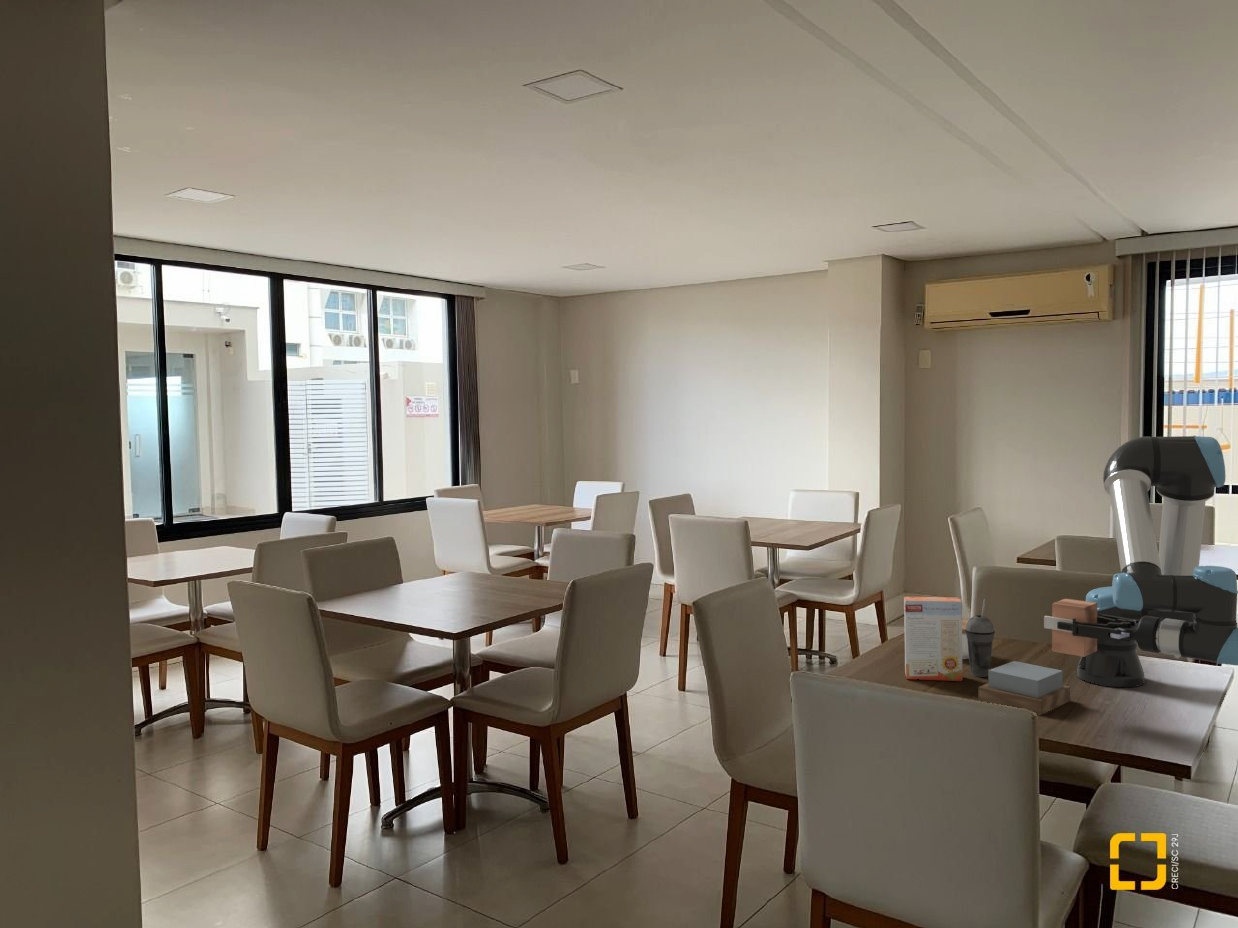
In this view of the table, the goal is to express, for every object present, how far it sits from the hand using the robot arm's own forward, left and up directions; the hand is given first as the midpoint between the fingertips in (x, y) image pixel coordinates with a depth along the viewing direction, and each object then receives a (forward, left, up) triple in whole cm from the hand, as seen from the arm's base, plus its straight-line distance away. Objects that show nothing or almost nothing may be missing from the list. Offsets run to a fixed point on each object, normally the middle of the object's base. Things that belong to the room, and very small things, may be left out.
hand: (1052, 618), depth 213 cm
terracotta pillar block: (0, +5, -7) cm, 8 cm away
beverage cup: (-14, -25, -21) cm, 36 cm away
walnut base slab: (-1, -7, -22) cm, 23 cm away
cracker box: (-3, -32, -21) cm, 39 cm away
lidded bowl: (-27, -38, -21) cm, 51 cm away
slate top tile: (-1, -7, -18) cm, 19 cm away
